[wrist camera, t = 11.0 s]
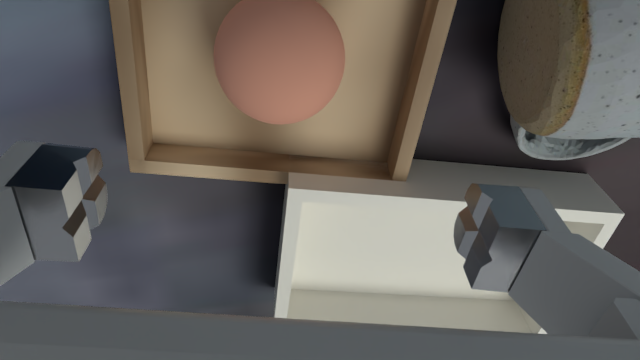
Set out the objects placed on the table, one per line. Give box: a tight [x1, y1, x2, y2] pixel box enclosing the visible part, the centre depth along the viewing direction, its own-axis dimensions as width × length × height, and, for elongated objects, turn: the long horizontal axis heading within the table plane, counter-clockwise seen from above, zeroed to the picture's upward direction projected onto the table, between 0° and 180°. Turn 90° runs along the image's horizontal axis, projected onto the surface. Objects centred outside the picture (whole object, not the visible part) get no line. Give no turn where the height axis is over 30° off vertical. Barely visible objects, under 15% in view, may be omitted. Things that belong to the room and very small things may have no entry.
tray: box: [109, 0, 457, 184], centre depth 20 cm, size 13×13×2 cm
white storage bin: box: [273, 154, 625, 334], centre depth 26 cm, size 16×10×4 cm, turn 83°
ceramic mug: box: [497, 0, 640, 160], centre depth 18 cm, size 11×8×8 cm
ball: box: [213, 0, 345, 125], centre depth 18 cm, size 5×5×5 cm
